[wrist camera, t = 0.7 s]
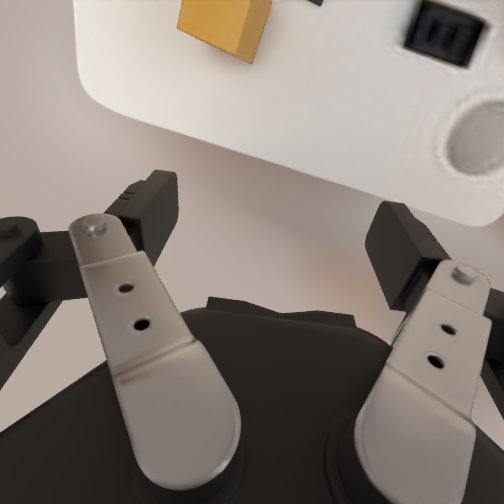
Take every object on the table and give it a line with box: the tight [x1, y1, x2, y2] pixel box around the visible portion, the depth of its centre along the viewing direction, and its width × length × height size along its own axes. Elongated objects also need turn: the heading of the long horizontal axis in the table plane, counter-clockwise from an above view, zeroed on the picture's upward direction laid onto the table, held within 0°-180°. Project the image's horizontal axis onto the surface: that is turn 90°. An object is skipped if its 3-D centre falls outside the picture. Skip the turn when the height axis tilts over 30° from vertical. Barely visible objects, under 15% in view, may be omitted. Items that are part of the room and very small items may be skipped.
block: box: [177, 0, 272, 64], centre depth 26 cm, size 5×5×9 cm
